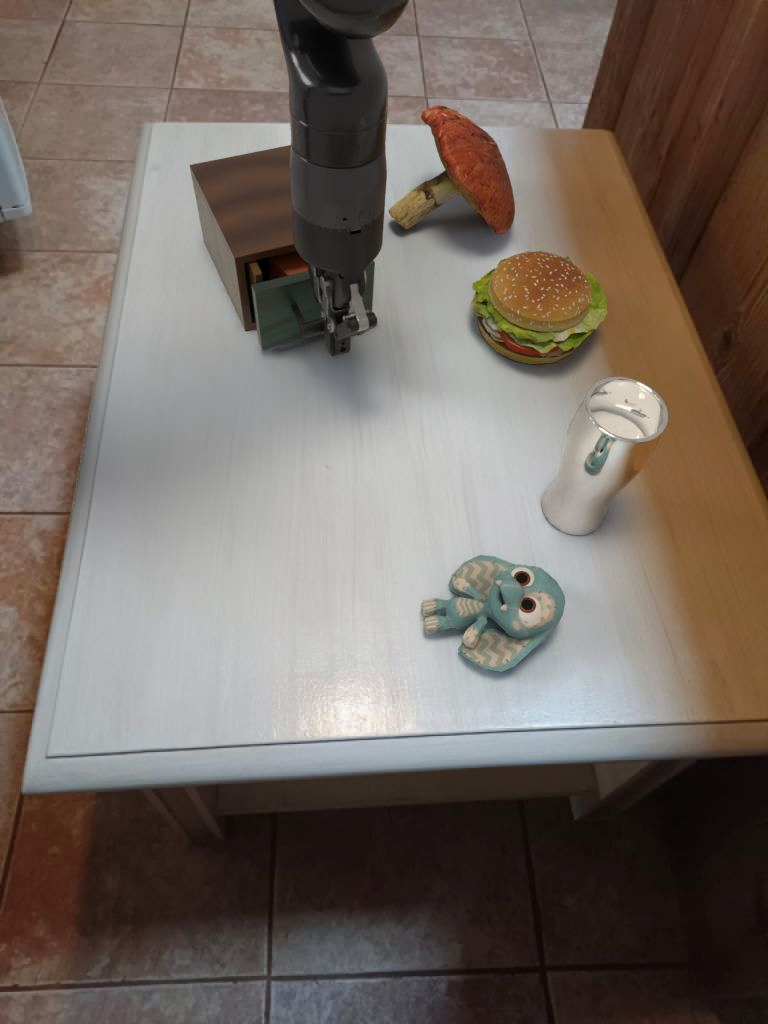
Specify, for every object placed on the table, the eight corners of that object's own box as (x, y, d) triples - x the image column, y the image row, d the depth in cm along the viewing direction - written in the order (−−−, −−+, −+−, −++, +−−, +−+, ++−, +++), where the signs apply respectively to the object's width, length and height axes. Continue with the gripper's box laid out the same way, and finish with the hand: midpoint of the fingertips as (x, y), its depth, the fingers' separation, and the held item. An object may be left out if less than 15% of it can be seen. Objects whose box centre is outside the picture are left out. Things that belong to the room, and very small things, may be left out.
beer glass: (550, 467, 72) (597, 362, 59) (617, 495, 70) (680, 394, 58) (526, 521, 68) (570, 422, 55) (596, 551, 67) (658, 457, 54)
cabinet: (361, 300, 82) (364, 227, 74) (245, 331, 79) (234, 257, 71) (312, 216, 90) (310, 140, 81) (203, 241, 86) (189, 164, 78)
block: (297, 312, 78) (295, 280, 74) (271, 291, 79) (267, 258, 76) (327, 294, 80) (327, 261, 76) (301, 273, 81) (300, 240, 77)
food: (514, 394, 76) (531, 340, 70) (447, 308, 83) (457, 250, 76) (617, 354, 80) (643, 299, 73) (546, 275, 86) (564, 217, 80)
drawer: (387, 347, 78) (392, 289, 71) (275, 378, 74) (269, 322, 68) (323, 238, 86) (322, 177, 79) (221, 262, 83) (210, 201, 76)
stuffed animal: (410, 538, 60) (554, 517, 60) (418, 575, 66) (548, 556, 66) (425, 662, 55) (584, 641, 54) (432, 689, 61) (575, 671, 60)
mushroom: (384, 243, 81) (519, 219, 78) (364, 96, 78) (503, 65, 76) (403, 262, 96) (516, 243, 94) (386, 140, 94) (503, 116, 91)
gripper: (266, 156, 60) (280, 315, 74) (323, 258, 53) (326, 408, 68) (350, 140, 61) (347, 297, 76) (415, 236, 55) (398, 387, 70)
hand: (337, 350), depth 72 cm, fingers closed
